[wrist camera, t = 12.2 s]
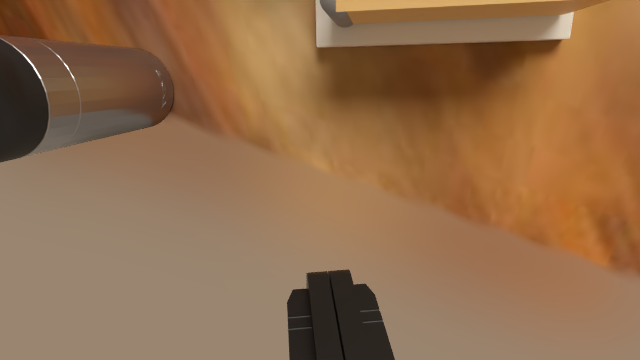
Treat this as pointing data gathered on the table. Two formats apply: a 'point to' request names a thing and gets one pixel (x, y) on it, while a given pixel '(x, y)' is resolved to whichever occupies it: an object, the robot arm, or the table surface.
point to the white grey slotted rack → (442, 31)
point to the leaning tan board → (443, 9)
